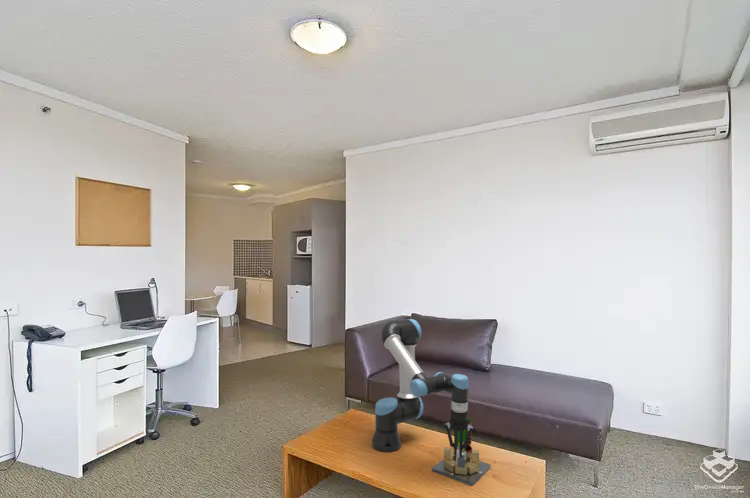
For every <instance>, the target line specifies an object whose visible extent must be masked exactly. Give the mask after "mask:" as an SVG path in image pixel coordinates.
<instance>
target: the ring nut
mask: <svg viewBox="0 0 750 498" xmlns="http://www.w3.org/2000/svg"><path fill="white" fill-rule="evenodd" d="M462 444H464V443H462ZM458 447H460V442H458ZM451 449H452V447H451V446H450V447H449V446H443V459H444V466H445V468H446V469H447V470H449V471H451V472H452V473H453V472H455V474H463V475H467V473H468V474H470V475H471V474H473V473H476V472H478V470H479V461H480V449H472V453H470V452H469V453H467V452H466V462H467V463H465V455H462V456H459V458H458V464H456V457H457V456H456V455H454V450H452V451H451ZM462 450H464V451H465V448H463V449H462Z"/></svg>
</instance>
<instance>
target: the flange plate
mask: <svg viewBox="0 0 750 498" xmlns="http://www.w3.org/2000/svg"><path fill="white" fill-rule="evenodd" d="M462 455H465V463H467V462H466V451H464V450H462ZM491 467H492V466H491V464H490V463H488V462H485V461H481V460H479V470H478V472H476V473H473V474H471V475H470V474H468V473H467V475H463V474H455V472H453V473H452V472H451V471H449V470H447V469H446V468H445V466H444V458H442V459H441V460H440V461H438V463H437V464H435V465H434V466H433V467H431V472H432V473H436V474H438V475H442V476H443V477H447V478H449V479H451V480H455V481H456V482H460V483H462V484H466V485H468V486H470V487H473V486H474V485H475V484H476V483H477V482H478V481H479V480H480V479H481V478H482V477H483V476H484V475H485V474H487V472H488V471H489V469H491Z"/></svg>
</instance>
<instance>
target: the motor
mask: <svg viewBox="0 0 750 498" xmlns="http://www.w3.org/2000/svg"><path fill="white" fill-rule="evenodd" d="M467 421H468V423H469V425H470V426H473V425H472V423H471V418H469V417H468V419H467ZM467 432H468V427H467V428H466V429H465V430H464V431H463V443H464V442H465V438H466V435H467ZM472 432H473V431H472ZM472 432H471V433H470V437H469V440H468V444H467V447H466V448H465V451H466V452H467V453H469V452H470V453H472V450H473V447H472V446H471V445H472V436H473V435H472ZM458 442H460V431H457V447H458Z"/></svg>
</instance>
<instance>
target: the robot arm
mask: <svg viewBox="0 0 750 498" xmlns="http://www.w3.org/2000/svg"><path fill="white" fill-rule="evenodd" d="M421 337H422V328H421V325H420V324H419V322H418V321H417V320H415V319H412V318H407V319H404V318H403V319H396V320H390V321H387V322H385V323H384V324H383V326H382V327H381V329H380V341H381V344H382V345H383V346H384V348H385V349H387V350H389V352H390V353H391V355H392V356H393V357H394V360H395V361H396V362H397V363H398V367H399V369H398V370H399V392H398V393H397V394H396V395H397V396H396V397H397V398H396V397H384V398H381V399H378V401H377V402H376V403H375V407H374V408H375V409H374V412H375V417H374V418H375V420H374V421H375V423H374V425H375V427H374V429H375V431H374V433H373V438H372V441H371V446H372V449H374V450H376V451H379V452H384V453H385V452H386V453H387V452H389V453H390V452H395V451H398V450H399V449H400V448H401V447H402V440H401V439H400V438H401V437H400V434H399V430H398V428H399V427H398V424H402V423H406V422H410V421H415V420H418V419H420V418H421V416H423V413H424V402H423V400H422V398H421V397H425V396H429V395H432V394H439V393H442V392H443V393H444V392H446V393H447V394H450V419H449V421H448V422H445V423H444V428H445V430H446V433H447V437H448V441H449V446H450V447H451V448H453V451H454V455H456V456H457V457H456V464H458V458H459V456H462V449H463V448H466V447H467V444H468V440H469V437H470V433H471V432H473V430H474V427H473V425H472V426H470V425H469V423H468V421H467V419H468V418H469V417H468V413H469V412H468V410H469V409H468V408H469V386H470V385H469V377H468V375H465V374H461V373H455V374H452V375H450V374H447V373H445V372H441V371H439V372H436V373H435V374H434V375H433V376H427V375H426V373H425V372H424V371H423V370H422V368H421V367H420V364H418V363H417V361H416V355H415V354H416V352H415V351H416V350H415V348H416V347H417V345H418V341H419V340H420V339H421ZM467 427H468V432H467V435H466V438H465V442H464V444H462V443H463V431H464V430H465V429H466V428H467ZM451 428H452V429H453V437H454V438H453V437H452V432H451ZM457 431H460V447H457ZM471 434H472V433H471Z"/></svg>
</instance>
